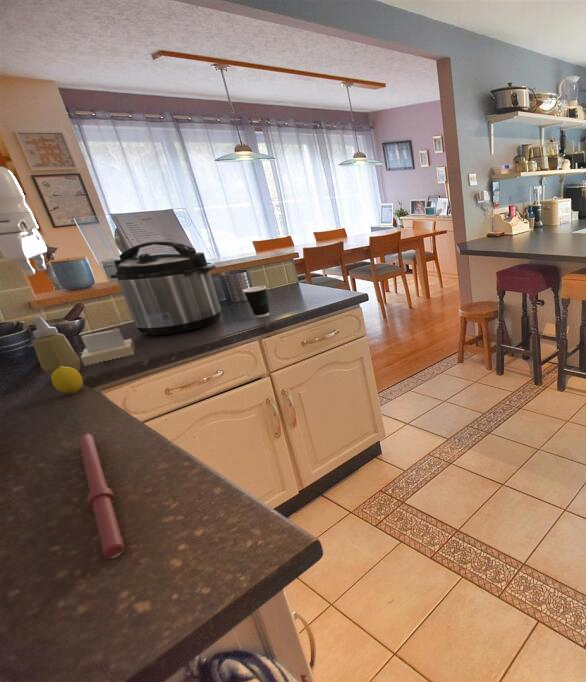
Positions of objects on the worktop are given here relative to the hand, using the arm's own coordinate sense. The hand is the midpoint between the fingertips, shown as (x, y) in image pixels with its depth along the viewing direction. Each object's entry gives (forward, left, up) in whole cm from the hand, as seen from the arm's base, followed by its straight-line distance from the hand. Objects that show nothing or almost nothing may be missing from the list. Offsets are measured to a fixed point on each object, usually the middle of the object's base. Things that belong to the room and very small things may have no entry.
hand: (37, 272), depth 128 cm
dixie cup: (+54, +5, -29) cm, 61 cm away
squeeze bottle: (-2, -12, -29) cm, 31 cm away
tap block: (+8, -3, -29) cm, 30 cm away
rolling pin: (+11, -92, -29) cm, 97 cm away
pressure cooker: (+29, +18, -29) cm, 45 cm away
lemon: (+2, -32, -29) cm, 43 cm away
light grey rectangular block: (+8, -3, -26) cm, 27 cm away
